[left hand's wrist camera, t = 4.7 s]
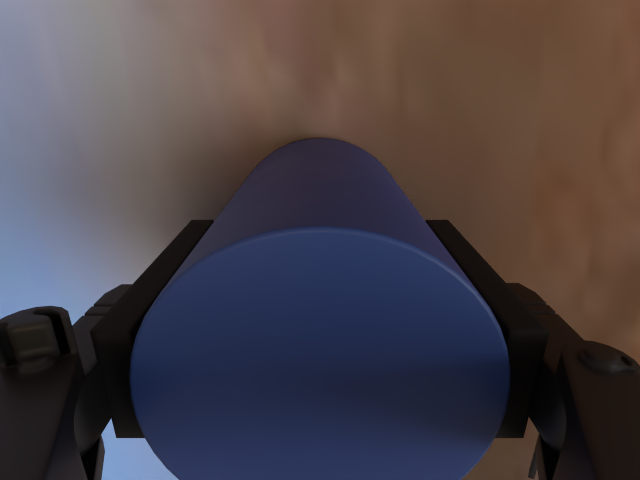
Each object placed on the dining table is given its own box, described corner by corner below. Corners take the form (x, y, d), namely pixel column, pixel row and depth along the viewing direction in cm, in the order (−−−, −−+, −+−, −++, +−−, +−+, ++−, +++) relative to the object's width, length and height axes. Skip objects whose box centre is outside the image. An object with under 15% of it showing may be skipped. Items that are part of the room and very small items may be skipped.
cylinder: (373, 110, 16) (463, 160, 6) (421, 266, 18) (541, 484, 8) (208, 174, 17) (48, 309, 7) (275, 314, 19) (229, 560, 9)
